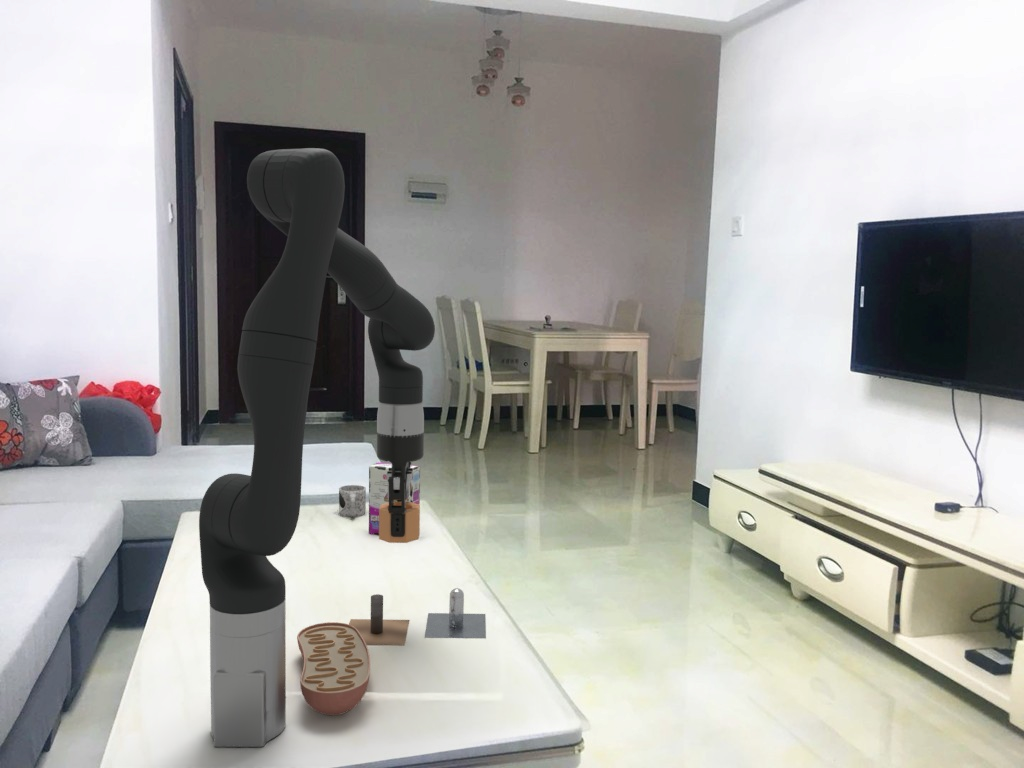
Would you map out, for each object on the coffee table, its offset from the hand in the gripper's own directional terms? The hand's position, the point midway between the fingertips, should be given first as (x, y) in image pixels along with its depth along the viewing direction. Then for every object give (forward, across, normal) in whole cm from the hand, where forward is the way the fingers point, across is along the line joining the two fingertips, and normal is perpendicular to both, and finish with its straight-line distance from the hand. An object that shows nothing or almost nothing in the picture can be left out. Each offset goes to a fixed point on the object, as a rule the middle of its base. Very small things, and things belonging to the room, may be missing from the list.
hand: (399, 529), depth 133 cm
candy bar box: (+19, +56, +6) cm, 59 cm away
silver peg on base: (+18, +2, -10) cm, 20 cm away
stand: (+18, -1, +4) cm, 18 cm away
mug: (+19, +71, +18) cm, 75 cm away
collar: (+1, 0, 0) cm, 1 cm away
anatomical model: (+18, -18, +8) cm, 26 cm away
